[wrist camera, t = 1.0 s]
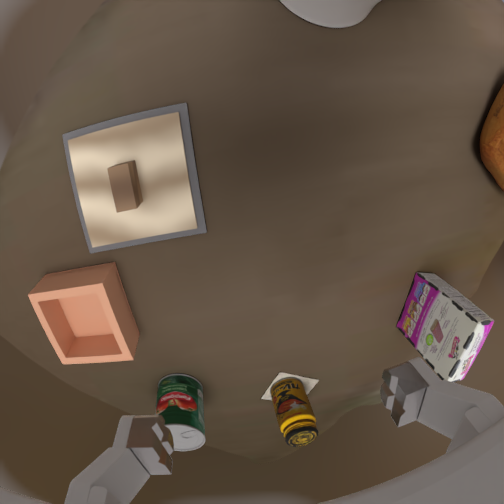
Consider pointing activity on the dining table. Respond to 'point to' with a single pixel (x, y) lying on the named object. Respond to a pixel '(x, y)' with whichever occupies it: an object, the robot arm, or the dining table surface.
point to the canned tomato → (182, 410)
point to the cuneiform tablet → (494, 140)
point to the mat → (190, 166)
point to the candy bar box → (443, 326)
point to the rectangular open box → (86, 315)
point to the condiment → (293, 408)
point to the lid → (133, 180)
